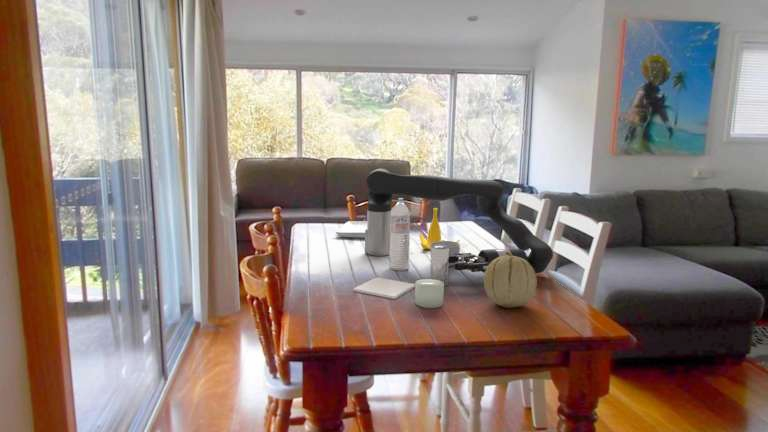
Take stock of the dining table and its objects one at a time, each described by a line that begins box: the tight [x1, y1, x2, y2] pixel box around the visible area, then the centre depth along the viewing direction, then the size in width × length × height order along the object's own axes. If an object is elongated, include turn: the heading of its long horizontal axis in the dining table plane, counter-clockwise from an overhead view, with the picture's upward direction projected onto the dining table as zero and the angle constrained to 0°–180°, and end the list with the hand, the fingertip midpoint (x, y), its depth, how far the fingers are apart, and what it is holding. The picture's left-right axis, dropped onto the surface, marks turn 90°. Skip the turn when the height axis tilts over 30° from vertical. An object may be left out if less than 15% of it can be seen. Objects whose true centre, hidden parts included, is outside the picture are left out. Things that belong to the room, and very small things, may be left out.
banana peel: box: [419, 207, 461, 250], centre depth 213 cm, size 17×19×17 cm
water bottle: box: [389, 197, 411, 272], centre depth 178 cm, size 7×7×25 cm
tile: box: [353, 276, 416, 300], centre depth 157 cm, size 14×14×1 cm
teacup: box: [429, 239, 461, 268], centre depth 188 cm, size 14×11×8 cm
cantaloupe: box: [483, 252, 538, 309], centre depth 143 cm, size 15×15×15 cm
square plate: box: [335, 220, 367, 239], centre depth 239 cm, size 27×27×4 cm
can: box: [429, 245, 449, 287], centre depth 163 cm, size 6×6×12 cm
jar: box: [414, 278, 445, 309], centre depth 144 cm, size 8×8×6 cm
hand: (449, 263), depth 164 cm, fingers open, 8 cm apart
